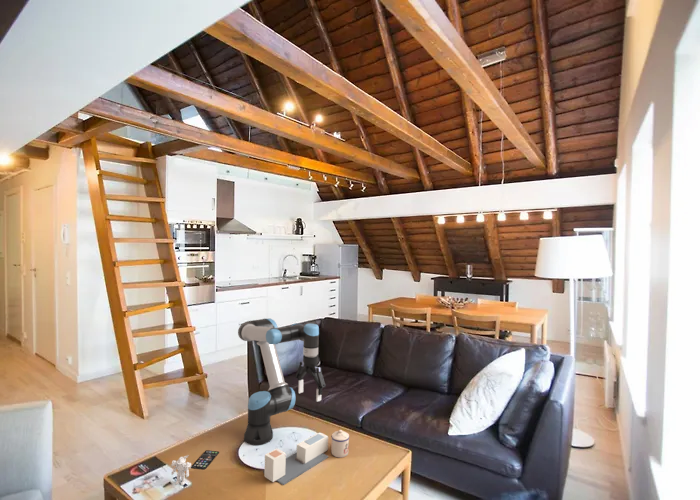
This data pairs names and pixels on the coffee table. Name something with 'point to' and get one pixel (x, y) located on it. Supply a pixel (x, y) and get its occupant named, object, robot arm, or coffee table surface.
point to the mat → (298, 467)
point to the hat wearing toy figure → (181, 469)
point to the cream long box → (312, 447)
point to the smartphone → (205, 460)
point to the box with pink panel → (275, 464)
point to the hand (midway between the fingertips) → (309, 396)
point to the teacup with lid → (340, 444)
